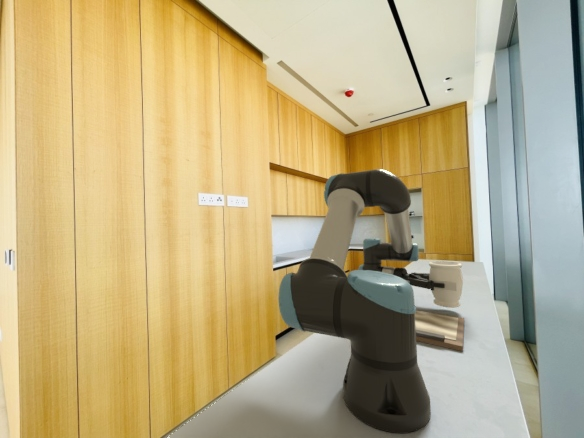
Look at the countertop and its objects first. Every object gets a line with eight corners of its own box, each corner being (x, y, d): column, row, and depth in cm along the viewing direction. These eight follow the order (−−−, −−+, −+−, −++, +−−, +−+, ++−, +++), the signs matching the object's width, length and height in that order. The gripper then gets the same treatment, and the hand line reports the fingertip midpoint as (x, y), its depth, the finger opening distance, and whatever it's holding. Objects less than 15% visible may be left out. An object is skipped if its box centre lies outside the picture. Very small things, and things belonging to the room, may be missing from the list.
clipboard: (462, 351, 62) (462, 342, 62) (395, 336, 71) (395, 328, 72) (464, 321, 80) (463, 314, 80) (410, 312, 89) (410, 306, 89)
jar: (463, 311, 82) (460, 266, 83) (428, 305, 89) (426, 264, 89) (464, 302, 91) (462, 262, 91) (432, 298, 97) (431, 260, 98)
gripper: (404, 280, 110) (464, 287, 96) (385, 291, 93) (453, 302, 79) (404, 263, 111) (463, 268, 96) (384, 271, 93) (452, 278, 79)
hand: (459, 283), depth 87 cm, fingers closed on jar, 11 cm apart
